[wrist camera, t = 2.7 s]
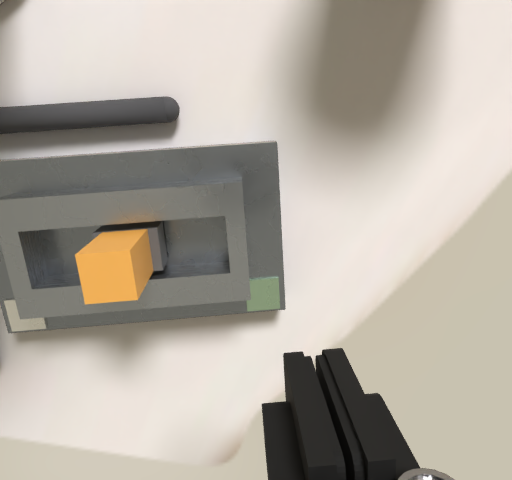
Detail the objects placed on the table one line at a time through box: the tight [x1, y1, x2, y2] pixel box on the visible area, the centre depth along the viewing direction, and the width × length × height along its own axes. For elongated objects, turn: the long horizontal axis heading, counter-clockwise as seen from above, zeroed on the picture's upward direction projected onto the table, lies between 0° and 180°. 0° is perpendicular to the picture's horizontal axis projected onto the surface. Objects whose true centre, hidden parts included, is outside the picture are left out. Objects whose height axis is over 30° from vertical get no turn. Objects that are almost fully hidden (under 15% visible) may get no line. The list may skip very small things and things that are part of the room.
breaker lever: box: [75, 221, 168, 304], centre depth 24 cm, size 3×4×6 cm
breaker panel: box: [0, 141, 285, 333], centre depth 27 cm, size 12×20×4 cm, turn 94°
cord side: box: [0, 97, 179, 134], centre depth 26 cm, size 14×2×2 cm, turn 94°
